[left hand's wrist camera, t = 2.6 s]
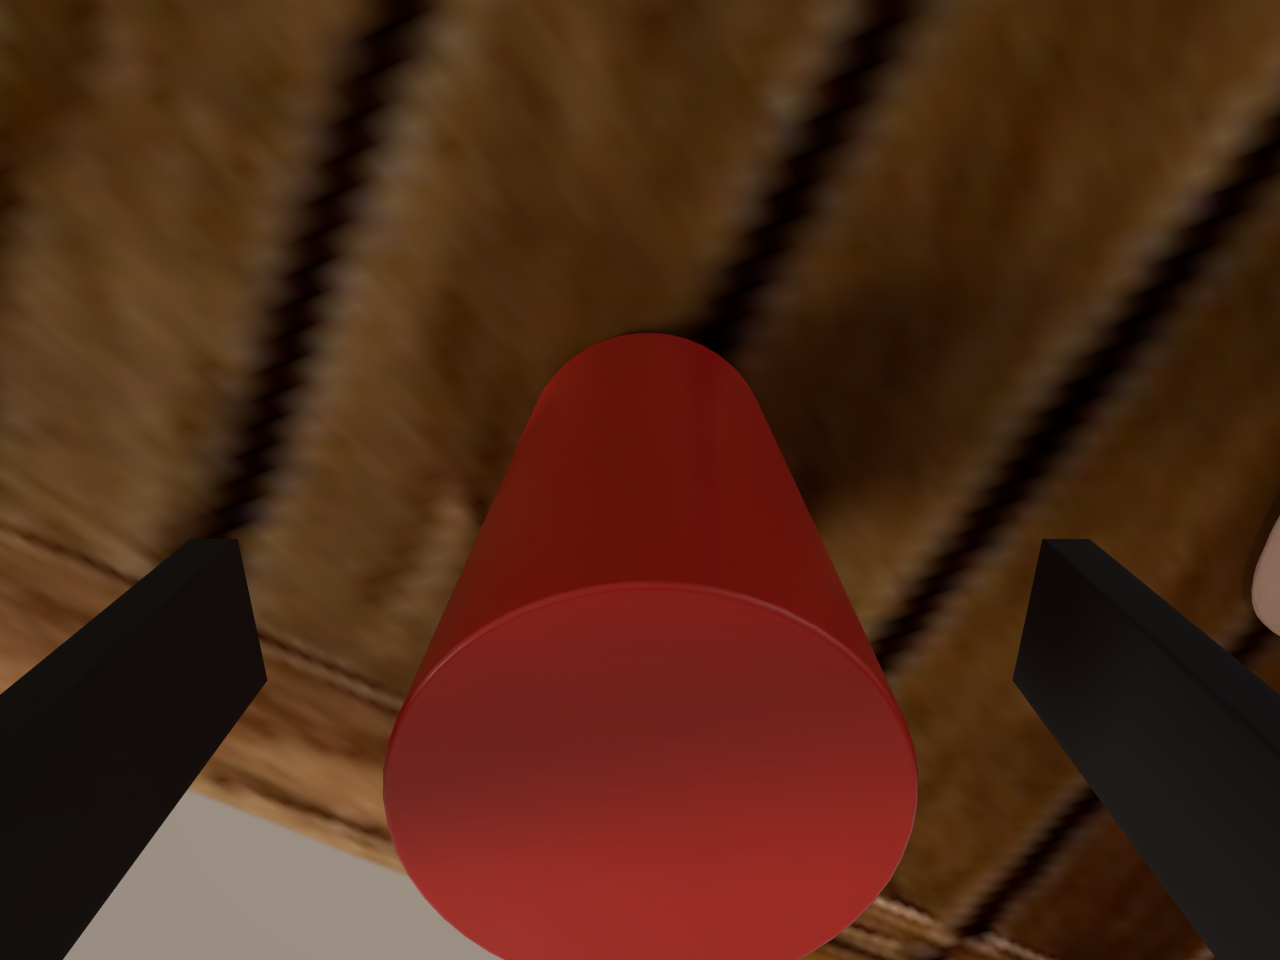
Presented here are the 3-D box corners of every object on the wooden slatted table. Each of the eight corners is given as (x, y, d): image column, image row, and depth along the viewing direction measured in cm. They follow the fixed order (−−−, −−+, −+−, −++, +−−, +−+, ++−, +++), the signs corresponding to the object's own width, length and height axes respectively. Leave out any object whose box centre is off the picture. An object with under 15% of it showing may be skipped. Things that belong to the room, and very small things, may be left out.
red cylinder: (491, 377, 19) (281, 676, 8) (727, 297, 18) (853, 508, 7) (577, 581, 21) (504, 1037, 10) (792, 518, 20) (963, 936, 9)
